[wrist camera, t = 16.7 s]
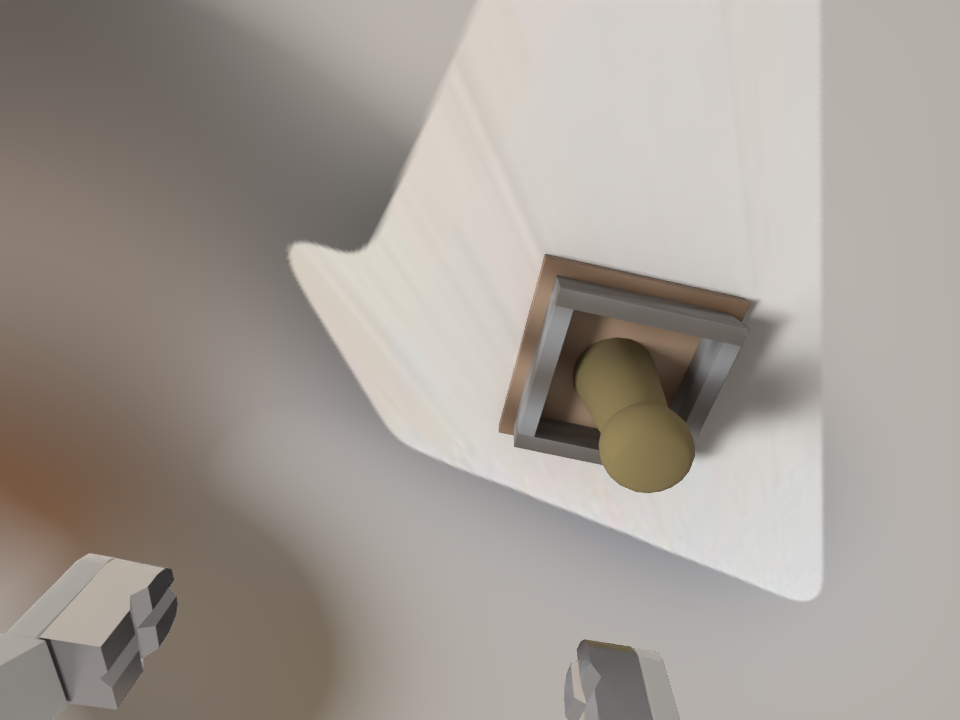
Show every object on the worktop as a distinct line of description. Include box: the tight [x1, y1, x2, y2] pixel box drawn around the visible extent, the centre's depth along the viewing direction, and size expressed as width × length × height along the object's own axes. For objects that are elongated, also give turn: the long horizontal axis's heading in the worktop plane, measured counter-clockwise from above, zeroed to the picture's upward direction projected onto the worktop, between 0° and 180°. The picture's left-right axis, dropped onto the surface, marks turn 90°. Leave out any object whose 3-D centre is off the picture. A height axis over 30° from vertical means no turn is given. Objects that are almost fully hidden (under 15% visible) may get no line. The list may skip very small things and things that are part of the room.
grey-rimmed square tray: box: [499, 254, 750, 465], centre depth 35 cm, size 14×14×4 cm
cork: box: [573, 337, 695, 493], centre depth 31 cm, size 6×6×11 cm
